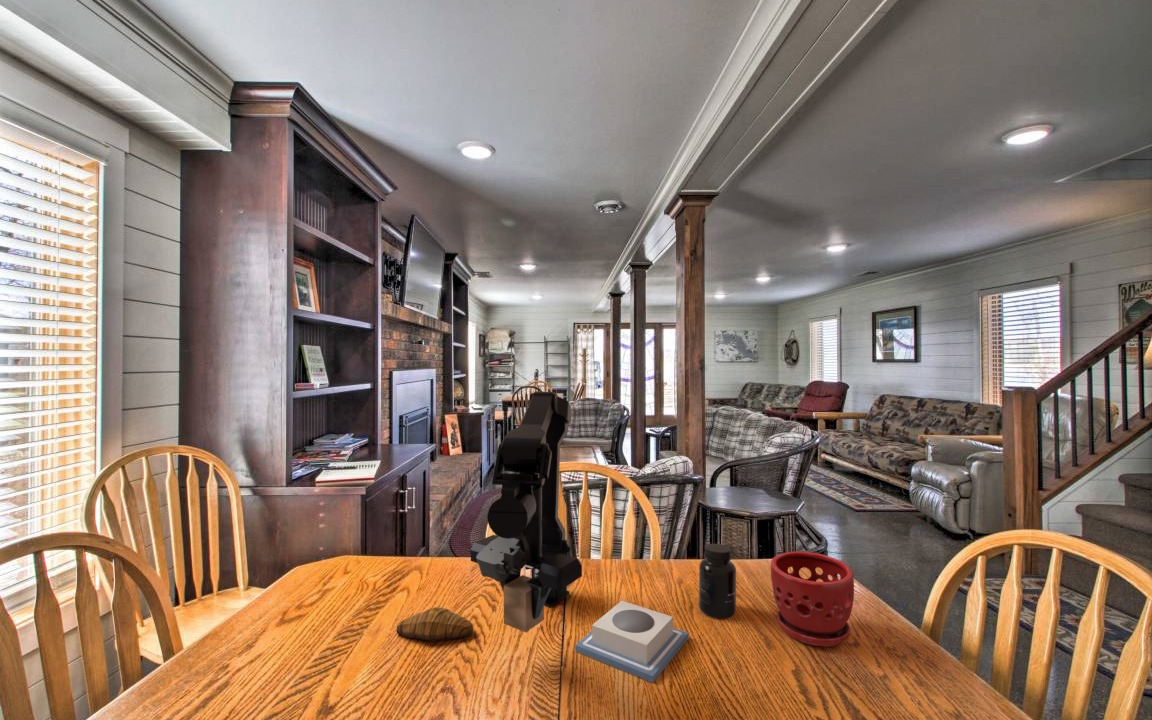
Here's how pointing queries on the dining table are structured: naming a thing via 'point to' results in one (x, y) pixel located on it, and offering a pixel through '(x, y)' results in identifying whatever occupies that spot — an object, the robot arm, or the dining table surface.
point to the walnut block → (519, 605)
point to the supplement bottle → (717, 582)
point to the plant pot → (813, 597)
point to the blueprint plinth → (634, 640)
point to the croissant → (435, 625)
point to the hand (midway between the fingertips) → (524, 613)
